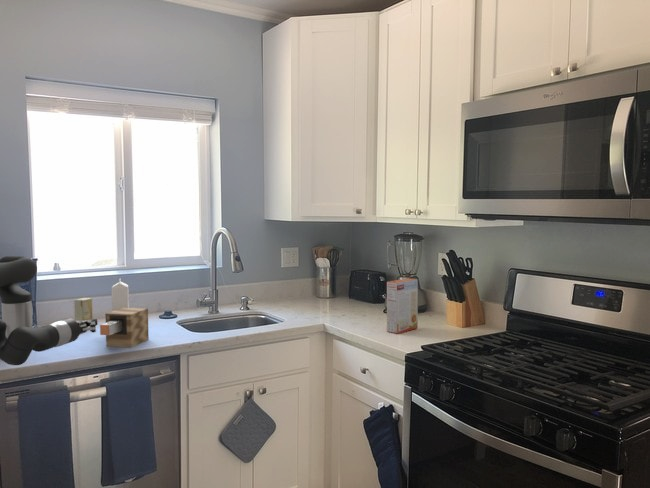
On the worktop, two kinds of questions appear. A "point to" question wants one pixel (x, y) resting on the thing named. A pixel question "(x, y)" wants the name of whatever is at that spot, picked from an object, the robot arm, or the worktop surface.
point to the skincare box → (83, 309)
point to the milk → (120, 296)
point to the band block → (129, 327)
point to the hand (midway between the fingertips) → (95, 321)
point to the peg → (111, 327)
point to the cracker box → (402, 305)
